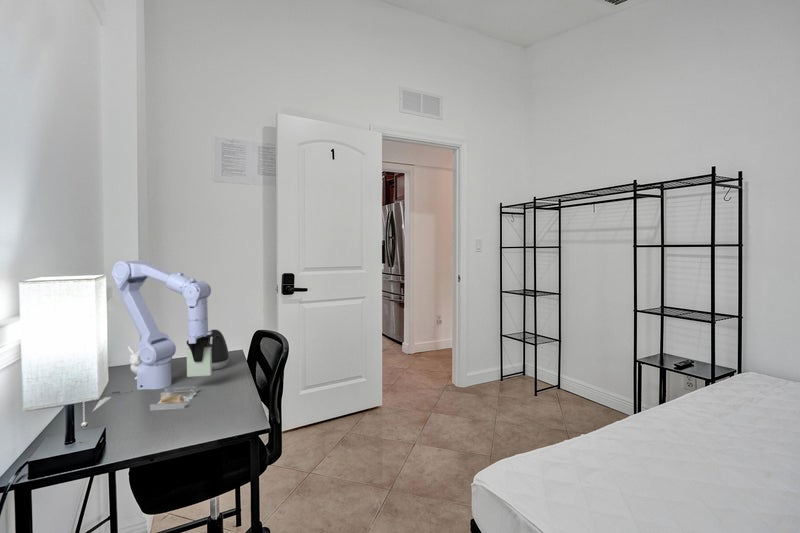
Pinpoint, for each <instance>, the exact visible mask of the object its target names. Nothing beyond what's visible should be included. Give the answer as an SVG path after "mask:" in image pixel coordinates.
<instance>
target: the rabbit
mask: <svg viewBox="0 0 800 533" xmlns="http://www.w3.org/2000/svg"><path fill="white" fill-rule="evenodd" d="M127 349H128V350H129V354H130V355H129V356H130V357H129V364H130V370H131V372H132V373H133V374H135V375H136V376H135V377H134V380H137V369H138V366H139V364H140V363H144V362H142V360H141V358H140V353H139V349H138V351H137V352H135V350H134V349H133V348H132V346H131V345H128V346H127Z"/></svg>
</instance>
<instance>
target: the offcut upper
mask: <svg viewBox="0 0 800 533" xmlns="http://www.w3.org/2000/svg"><path fill="white" fill-rule="evenodd" d="M181 399H182V395H167V396H163V397H162V398H161V397H160V400H161V403H164V402H179V401H180V400H181Z"/></svg>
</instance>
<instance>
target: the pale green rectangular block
mask: <svg viewBox="0 0 800 533" xmlns="http://www.w3.org/2000/svg"><path fill="white" fill-rule="evenodd" d="M212 374H213V370H212V352H211V347H204V350H203V358H202V361H201V362H194V359H193V356H192V352H191V350H190V348H189V347H187V348H186V377H187V378H189V377H208V376H209V377H211V376H212Z"/></svg>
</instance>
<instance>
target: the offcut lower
mask: <svg viewBox="0 0 800 533" xmlns="http://www.w3.org/2000/svg"><path fill="white" fill-rule="evenodd" d="M159 401H160V400H159ZM159 401H158V402H159ZM158 402H157V403H158ZM179 402H184V398H182V399H181V400H180V401H179ZM160 403H161V401H160V402H159V403H158V404H160ZM164 403H175V402H164Z"/></svg>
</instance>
